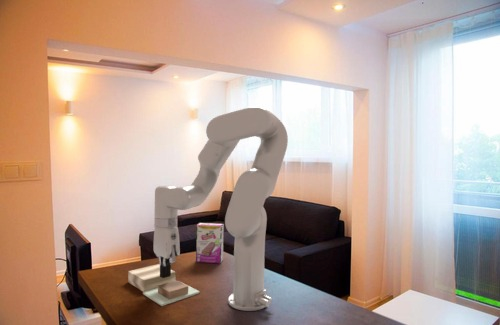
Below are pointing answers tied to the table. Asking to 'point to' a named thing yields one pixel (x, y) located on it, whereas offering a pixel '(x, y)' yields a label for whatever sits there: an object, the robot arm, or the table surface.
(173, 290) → the walnut block
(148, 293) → the sage mat
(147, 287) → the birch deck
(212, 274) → the table surface
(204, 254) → the candy bar box
